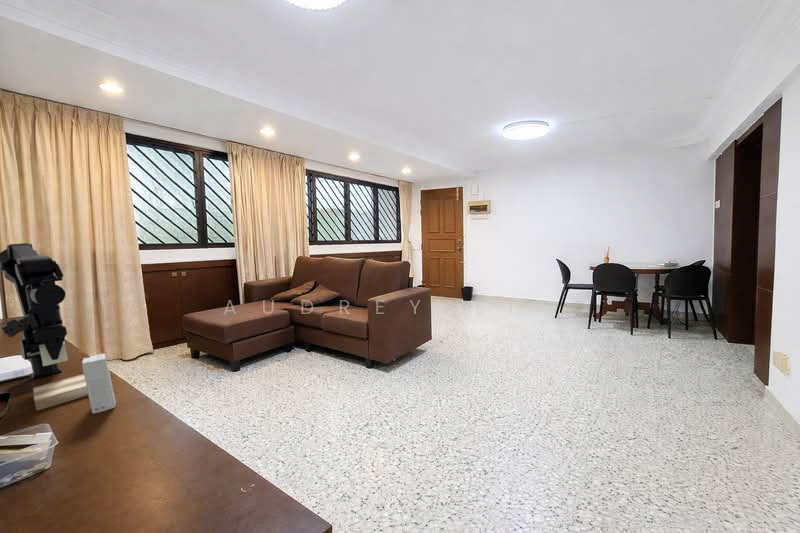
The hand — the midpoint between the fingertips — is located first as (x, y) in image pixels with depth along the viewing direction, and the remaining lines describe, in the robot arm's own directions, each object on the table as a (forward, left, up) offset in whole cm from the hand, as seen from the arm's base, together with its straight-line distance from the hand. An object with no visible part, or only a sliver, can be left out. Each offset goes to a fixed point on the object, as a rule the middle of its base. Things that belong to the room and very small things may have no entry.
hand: (54, 357), depth 100 cm
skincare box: (+30, +6, -8) cm, 31 cm away
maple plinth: (+12, 0, -8) cm, 14 cm away
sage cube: (0, 0, -1) cm, 1 cm away
